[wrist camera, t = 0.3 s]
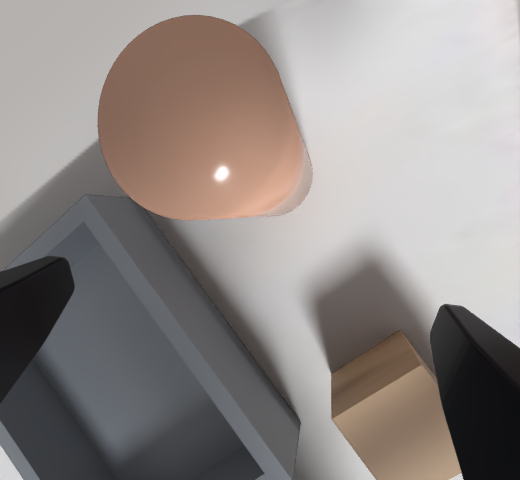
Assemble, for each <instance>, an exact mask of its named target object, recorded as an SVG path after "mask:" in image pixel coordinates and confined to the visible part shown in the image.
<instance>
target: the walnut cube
mask: <svg viewBox="0 0 520 480" xmlns="http://www.w3.org/2000/svg"><path fill="white" fill-rule="evenodd" d="M331 410H332V421H333V422H334V423H335V425H336V426H337V427H338V429H339V430H340V431H341V433H342V434H343V436H344V437H345V438H346V440H347V441H348V442H349V444H350V445H351V446H352V448H353V449H354V450H355V452H356V453H357V454H358V456H359V457H360V459H361V460H362V461H363V463H364V464H365V465H366V467H367V468H368V469H369V471H370V472H371V473H372V475H373V476H374V477H375V479H376V480H449V479H450V478H452V477H454V476H456V475H458V474H460V473H462V472H461V469H460V466H459V462H458V459H457V456H456V452H455V449H454V446H453V442H452V439H451V435H450V432H449V429H448V425H447V422H446V419H445V415H444V412H443V408H442V404H441V399H440V394H439V389H438V383H437V378H436V375H435V374H434V373H433V372H432V370H431V369H430V368H429V366H428V365H427V364H426V362H425V361H424V360H423V359H422V357H421V356H420V355H419V353H418V352H417V351H416V349H415V348H414V347H413V345H412V344H411V343H410V342H409V340H408V339H407V338H406V336H405V335H404V334H403V332H402V331H401V330H399V331H398V332H396V333H394V334H393V335H391V336H390V337H388V338H387V339H385V340H383V341H382V342H380V343H379V344H377V345H376V346H374V347H373V348H371V349H369V350H368V351H366V352H365V353H363V354H362V355H360V356H358V357H357V358H355V359H354V360H352V361H351V362H349V363H348V364H346V365H344V366H343V367H341V368H340V369H338V370H337V371H335V372H333V373H332V374H331Z"/></svg>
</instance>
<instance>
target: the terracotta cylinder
mask: <svg viewBox="0 0 520 480" xmlns="http://www.w3.org/2000/svg"><path fill="white" fill-rule="evenodd" d="M98 134H99V141H100V146H101V150H102V153H103V156H104V159H105V162H106V164H107V166H108V168H109V170H110V172H111V174H112V176H113V177H114V179H115V180H116V182H117V183H118V185H119V186H120V187H121V188H122V189H123V191H124V192H125V193H126V194H127V195H128V196H129V197H130V198H131V199H133V200H134V201H135V202H136V203H138V204H139V205H141V206H142V207H143V208H145V209H147V210H149V211H151V212H153V213H155V214H158V215H161V216H164V217H167V218H172V219H177V220H206V219H226V218H245V217H265V216H278V215H283V214H285V213H288V212H290V211H292V210H293V209H295V208H296V207H297V206H299V205H300V204H301V203H302V201H303V200H304V199H305V197H306V196H307V194H308V192H309V190H310V187H311V183H312V175H313V173H312V165H311V161H310V158H309V155H308V153H307V150H306V147H305V145H304V142H303V139H302V136H301V134H300V131H299V128H298V125H297V123H296V120H295V117H294V114H293V112H292V109H291V106H290V104H289V101H288V98H287V95H286V93H285V90H284V87H283V84H282V82H281V79H280V76H279V73H278V71H277V69H276V67H275V65H274V63H273V61H272V60H271V58H270V57H269V55H268V54H267V52H266V51H265V49H264V48H263V47H262V46H261V45H260V44H259V43H258V42H257V40H256V39H254V38H253V37H252V36H251V35H250V34H248V33H247V32H246V31H244V30H243V29H241V28H240V27H238V26H236V25H235V24H232V23H230V22H227V21H225V20H223V19H219V18H214V17H211V16H202V15H187V16H180V17H176V18H171V19H168V20H166V21H163V22H160V23H158V24H156V25H154V26H152V27H150V28H148V29H147V30H145V31H144V32H142V33H141V34H140V35H138V36H137V37H136V38H135V39H134V40H133V41H131V42H130V43H129V44H128V45H127V47H126V48H125V49H124V50H123V51H122V52H121V54H120V55H119V56H118V58H117V59H116V61H115V62H114V64H113V66H112V68H111V69H110V71H109V73H108V75H107V78H106V80H105V83H104V86H103V89H102V93H101V97H100V101H99V108H98Z"/></svg>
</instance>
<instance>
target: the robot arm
mask: <svg viewBox="0 0 520 480" xmlns="http://www.w3.org/2000/svg"><path fill="white" fill-rule="evenodd" d="M74 289H75V283H74V279H73V275H72V271H71V268H70V264H69V261H68V260H67V259H66V258H64V257H58V256H46V257H43V258H40V259H37V260H34V261H31V262H28V263H25V264H22V265H19V266H16V267H13V268H10V269H7V270H4V271H1V272H0V404H1V403H2V401H3V400H4V398H5V397H6V396H7V394H8V393H9V392H10V390H11V389H12V387H13V386H14V385H15V383H16V382H17V380H18V379H19V378H20V376H21V375H22V374H23V372H24V371H25V369H26V368H27V367H28V365H29V364H30V362H31V361H32V360H33V358H34V357H35V356H36V354H37V353H38V351H39V350H40V348H41V347H42V345H43V344H44V342H45V341H46V339H47V337H48V336H49V334H50V332H51V331H52V329H53V327H54V326H55V324H56V322H57V320H58V319H59V317H60V315H61V314H62V312H63V310H64V308H65V307H66V305H67V303H68V302H69V300H70V298H71V296H72V295H73V292H74ZM430 344H431V349H432V355H433V361H434V366H435V372H436V378H437V383H438V389H439V394H440V399H441V404H442V408H443V412H444V415H445V419H446V422H447V425H448V429H449V432H450V435H451V439H452V442H453V446H454V449H455V452H456V456H457V459H458V462H459V466H460V469H461V472H462V476H463V479H464V480H520V348H519V347H517V346H516V345H515V344H513V343H512V342H511V341H509V340H508V339H507V338H505V337H504V336H502V335H501V334H500V333H498V332H497V331H496V330H494V329H493V328H492V327H490V326H489V325H488V324H486V323H485V322H483V321H482V320H481V319H479V318H478V317H477V316H475V315H474V314H473V313H471V312H470V311H469V310H467V309H466V308H464V307H463V306H458V305H450V304H444V305H442V306H441V307H440V308H439V311H438V313H437V316H436V318H435V321H434V324H433V326H432V329H431V332H430Z"/></svg>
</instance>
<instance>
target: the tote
mask: <svg viewBox="0 0 520 480" xmlns="http://www.w3.org/2000/svg"><path fill="white" fill-rule="evenodd" d="M46 256H58V257H64V258H66V259H67V260H68V261H69V264H70V268H71V271H72V275H73V279H74V283H75V289H74V292H73V295H72V296H71V298H70V300H69V302H68V303H67V305H66V307H65V308H64V310H63V312H62V314H61V315H60V317H59V319H58V320H57V322H56V324H55V326H54V327H53V329H52V331H51V332H50V334H49V336H48V337H47V339H46V341H45V342H44V344H43V345H42V347H41V348H40V350H39V351H38V353H37V354H36V356H35V357H34V358H33V360H32V361H31V362H30V364H29V365H28V367H27V368H26V369H25V371H24V372H23V374H22V375H21V376H20V378H19V379H18V380H17V382H16V383H15V385H14V386H13V387H12V389H11V390H10V392H9V393H8V394H7V396H6V397H5V398H4V400H3V401H2V403H1V404H0V445H1V446H2V448H3V449H4V451H5V452H6V454H7V455H8V457H9V458H10V460H11V461H12V463H13V464H14V466H15V467H16V469H17V470H18V472H19V473H20V475H21V476H22V478H23V479H24V480H293V475H294V468H295V461H296V454H297V446H298V439H299V432H300V425H301V422H300V420H299V419H298V418H297V416H296V415H295V414H294V412H293V411H292V410H291V408H290V407H289V405H288V404H287V403H286V401H285V400H284V399H283V397H282V396H281V395H280V393H279V392H278V390H277V389H276V388H275V386H274V385H273V384H272V382H271V381H270V380H269V378H268V377H267V375H266V374H265V373H264V371H263V370H262V369H261V367H260V366H259V365H258V363H257V362H256V360H255V359H254V358H253V356H252V355H251V354H250V352H249V351H248V350H247V348H246V347H245V345H244V344H243V343H242V341H241V340H240V339H239V337H238V336H237V335H236V333H235V332H234V330H233V329H232V328H231V326H230V325H229V324H228V322H227V321H226V320H225V318H224V317H223V315H222V314H221V313H220V311H219V310H218V309H217V307H216V306H215V305H214V303H213V302H212V300H211V299H210V298H209V296H208V295H207V294H206V292H205V291H204V290H203V288H202V287H201V285H200V284H199V283H198V281H197V280H196V279H195V277H194V276H193V275H192V273H191V272H190V270H189V269H188V268H187V266H186V265H185V264H184V262H183V261H182V260H181V258H180V257H179V255H178V254H177V253H176V251H175V250H174V249H173V247H172V246H171V245H170V243H169V242H168V240H167V239H166V238H165V236H164V235H163V234H162V232H161V231H160V230H159V228H158V227H157V225H156V224H155V223H154V221H153V220H152V219H151V217H150V216H149V215H148V213H147V212H146V210H145V209H144V208H143V207H142V206H141V205H139V204H138V203H136V202H135V201H134V200H133V199H131V198H124V197H111V196H98V195H84V196H83V197H82V198H81V199H80V200H79V201H78V202H77V203H76V204H75V205H74V206H73V207H71V208H70V209H69V210H68V211H67V212H66V213H65V214H64V215H63V216H62V217H61V218H60V219H58V220H57V221H56V222H55V223H54V224H53V225H52V226H51V227H50V228H49V229H48V230H47V231H45V232H44V233H43V234H42V235H41V236H40V237H39V238H38V239H37V240H36V241H35V242H34V243H32V244H31V245H30V246H29V247H28V248H27V249H26V250H25V251H24V252H23V253H22V254H21V255H19V256H18V257H17V258H16V259H15V260H14V261H13V262H12V263H11V264H10V265H9V266H8V267H7V268H5V269H4V270H7V269H10V268H13V267H16V266H19V265H22V264H25V263H28V262H31V261H34V260H37V259H40V258H43V257H46ZM4 270H3V271H4Z"/></svg>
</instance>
